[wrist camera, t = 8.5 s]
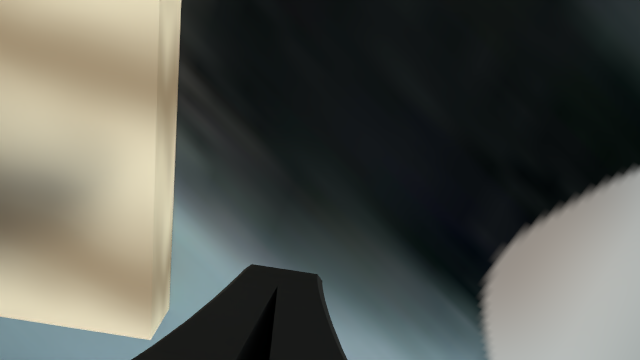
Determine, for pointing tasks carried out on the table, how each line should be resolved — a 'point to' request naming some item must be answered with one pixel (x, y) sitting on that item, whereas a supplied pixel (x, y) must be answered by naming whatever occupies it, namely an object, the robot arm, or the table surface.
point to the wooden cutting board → (88, 161)
